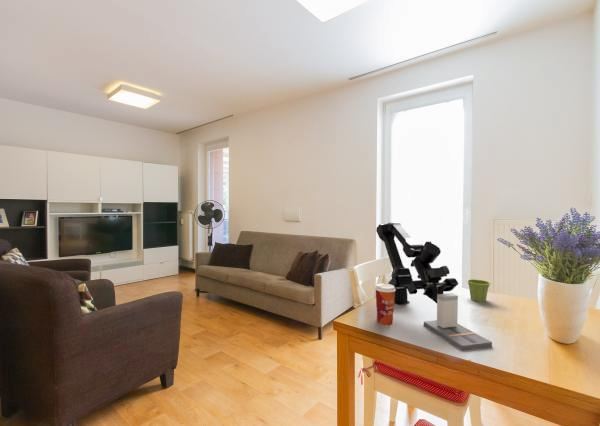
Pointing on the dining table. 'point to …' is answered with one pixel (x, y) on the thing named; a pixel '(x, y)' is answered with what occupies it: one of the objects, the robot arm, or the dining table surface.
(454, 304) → the fader handle
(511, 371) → the dining table surface
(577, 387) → the dining table surface
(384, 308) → the paper cup
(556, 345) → the dining table surface
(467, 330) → the fader console
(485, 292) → the plant pot
